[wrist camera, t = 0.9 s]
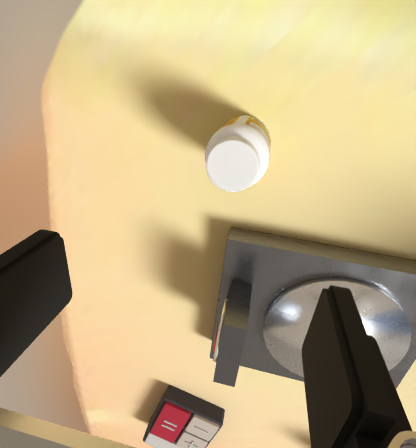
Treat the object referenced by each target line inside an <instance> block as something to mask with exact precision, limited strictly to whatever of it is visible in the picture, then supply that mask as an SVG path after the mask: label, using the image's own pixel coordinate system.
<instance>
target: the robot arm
mask: <svg viewBox="0 0 416 448" xmlns="http://www.w3.org/2000/svg"><path fill="white" fill-rule="evenodd" d="M71 298H72V288H71V282H70V276H69V270H68V264H67V258H66V252H65V246H64V241H63V238H62V237H60V235H59V233H57V232H54V231H48V230H39V231H37V232H35V233H34V234H32V235H31V236H29V237H28V238H26V239H25V240H23V241H21V242H20V243H18V244H17V245H15V246H13V247H12V248H11V249H9V250H7V251H6V252H4V253H3V254H1V255H0V377H1V375H3V374H4V373H5V371H6V370H7V369H8V368H9V367H10V366H11V365H12V364H13V363H14V361H16V359H17V358H18V357H19V356H20V355H21V354H22V353H23V352H24V351H25V350H26V348H28V346H29V345H30V344H31V343H32V342H33V341H34V340H35V339H36V338H37V337H38V336H39V334H40V333H41V332H42V331H43V330H44V329H45V328H46V327H47V326H48V325H49V324H50V322H51V321H52V320H53V319H54V318H55V317H56V316H57V315H58V314H59V313H60V312H61V311H62V309H63V308H64V307H65V306H66V305H67V304H68V303H69V302H70V300H71ZM302 363H303V373H304V383H305V392H306V402H307V412H308V421H309V431H310V440H311V448H416V432H413V431H412V429H411V426H410V424H409V421H408V419H407V416H406V414H405V411H404V409H403V406H402V404H401V401H400V399H399V396H398V394H397V391H396V389H395V386H394V384H393V381H392V379H391V376H390V374H389V371H388V369H387V366H386V363H385V361H384V358H383V356H382V353H381V351H380V348H379V346H378V343H377V341H376V340H375V338H374V337H373V336H370V335H367V333H366V330H365V327H364V325H363V322H362V319H361V317H360V314H359V311H358V308H357V306H356V303H355V300H354V298H353V295H352V292H351V290H350V289H349V288H344V287H339V286H334V285H330V286H329V288H328V289H326V288H323V289H322V291H321V294H320V297H319V300H318V303H317V305H316V308H315V311H314V314H313V317H312V320H311V322H310V325H309V328H308V331H307V334H306V337H305V339H304V342H303V345H302ZM0 448H135V447H132V446H128V445H125V444H122V443H118V442H115V441H112V440H108V439H105V438H101V437H98V436H95V435H91V434H88V433H84V432H81V431H78V430H74V429H71V428H67V427H64V426H61V425H57V424H54V423H50V422H47V421H44V420H40V419H37V418H34V417H30V416H27V415H23V414H20V413H16V412H13V411H9V410H6V409H3V408H0Z"/></svg>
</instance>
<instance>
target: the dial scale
mask: <svg viewBox="0 0 416 448" xmlns="http://www.w3.org/2000/svg"><path fill="white" fill-rule="evenodd" d="M330 285H334V286H339V287H344V288H349V289H350V290H351V292H352V295H353V298H354V300H355V303H356V306H357V308H358V311H359V314H360V317H361V319H362V322H363V325H364V327H365V330H366V333H367V335H370V336H373V337H374V338H375V340H376V341H377V343H378V346H379V348H380V351H381V353H382V356H383V358H384V361H385V363H386V366H387V369H388V371H389V374H390V376H391V379H392V381H393V384H394V386H395V389H396V388H397V387H398V385H399V384H400V382H401V380H402V379H403V377H404V376H405V374H406V373H407V371H408V370H409V368H410V367H411V365H412V364H413V362H414V361H415V359H416V261H414V260H409V259H403V258H398V257H392V256H387V255H382V254H376V253H371V252H365V251H360V250H354V249H349V248H344V247H338V246H333V245H327V244H322V243H317V242H311V241H306V240H300V239H295V238H289V237H284V236H279V235H273V234H268V233H262V232H257V231H251V230H246V229H241V228H235V227H231V229H230V233H229V236H228V239H227V246H226V253H225V259H224V266H223V273H222V279H221V286H220V293H219V299H218V306H217V313H216V319H215V326H214V333H213V339H212V346H211V352H210V358H212V359H213V361H214V362H217V363H216V368H215V374H214V380H213V381H214V382H217V383H221V384H225V385H229V386H233V387H234V386H235V382H236V377H237V373H238V369H239V365H240V366H244V367H248V368H252V369H256V370H259V371H263V372H267V373H271V374H275V375H279V376H283V377H287V378H291V379H295V380H299V381H303V382H304V373H303V363H302V345H303V342H304V339H305V337H306V334H307V331H308V328H309V325H310V322H311V320H312V317H313V314H314V311H315V308H316V305H317V303H318V300H319V297H320V294H321V291H322V289H323V288H326V289H328V288H329V286H330Z"/></svg>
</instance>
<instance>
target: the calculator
mask: <svg viewBox="0 0 416 448" xmlns="http://www.w3.org/2000/svg"><path fill="white" fill-rule="evenodd" d="M224 412H225V410H224V409H223V408H220V407H218V406H216V405H214V404H211V403H209V402H207V401H205V400H203V399H200V398H198V397H196V396H194V395H191V394H189V393H187V392H185V391H183V390H180V389H178V388H176V387H174V386H171V385H169V386H168V388H167V390H166V391H165V393H164V395H163V397H162V399H161V401H160V403H159V405H158V407H157V409H156V411H155V413H154V414H153V416H152V418H151V420H150V421H149V424H148V427H147V429H146V432H145V435H144V438H143V441H144V442H145V443H146V444H148V445H151V446H153V447H155V448H206V447H207V446H208V444H209V443H210V441H211V440H212V439H213V437H214V436H215V435H216V433H217V432H218V431H219V429H220V428H221V427H222V425H223V419H224Z"/></svg>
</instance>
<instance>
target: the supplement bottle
mask: <svg viewBox="0 0 416 448" xmlns="http://www.w3.org/2000/svg"><path fill="white" fill-rule="evenodd" d="M269 159H270V135H269V132H268V130H267V128H266V126H265V125H264V124H263V123H262V122H261V121H260V120H259V119H257V118H255V117H252V116H247V115H243V116H238V117H235V118H233V119H231V120H229V121H228V122H227V123H226V124H225V125H223V126H222V127H221V128H220V129H219V130H218V131H217V132H216V133H215V134H214V135H213V136H212V137H211V139H210V140H209V142H208V145H207V147H206V152H205V161H206V169H207V173H208V176H209V178H210V180H211V181H212V182H213V183H214V185H216V186H217V187H218V188H220V189H222V190H224V191H229V192H238V191H241V190H244V189H246V188H248V187H250V186H252V185H254V184H255V183H256V182H258V181H259V180H260V179H261V178H262V177H263V175H264V174H265V172H266V170H267V167H268V164H269Z"/></svg>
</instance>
